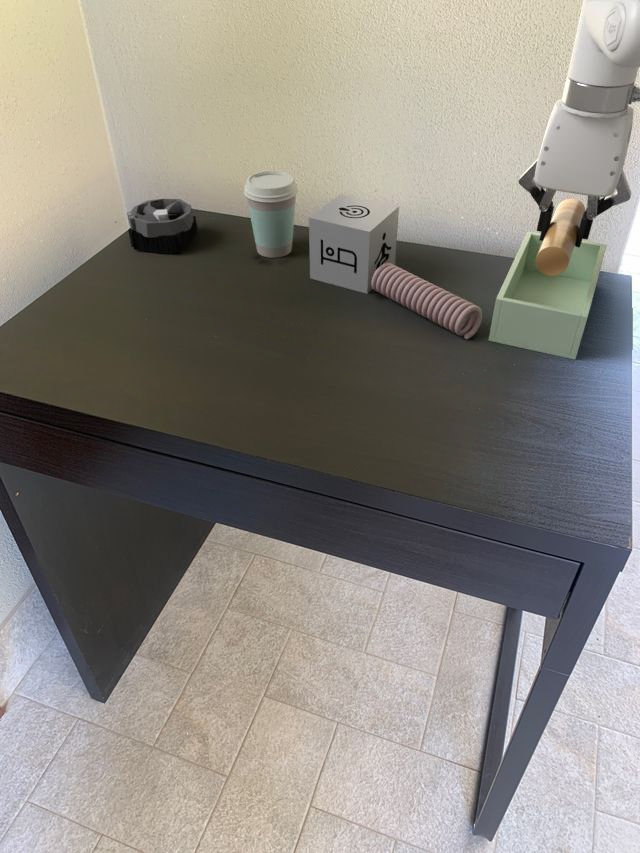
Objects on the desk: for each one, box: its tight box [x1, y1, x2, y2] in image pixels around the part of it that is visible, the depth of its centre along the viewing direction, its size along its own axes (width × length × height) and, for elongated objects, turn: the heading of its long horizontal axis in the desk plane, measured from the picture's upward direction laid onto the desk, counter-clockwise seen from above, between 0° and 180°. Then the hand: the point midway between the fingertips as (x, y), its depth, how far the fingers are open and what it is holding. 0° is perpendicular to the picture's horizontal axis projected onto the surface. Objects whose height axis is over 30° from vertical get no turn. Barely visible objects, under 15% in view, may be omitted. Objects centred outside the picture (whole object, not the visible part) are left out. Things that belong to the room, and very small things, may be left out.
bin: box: [488, 230, 608, 361], centre depth 97 cm, size 12×22×7 cm, turn 156°
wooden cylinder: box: [536, 198, 586, 276], centre depth 91 cm, size 16×4×4 cm
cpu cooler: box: [126, 198, 199, 254], centre depth 115 cm, size 10×6×10 cm
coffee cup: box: [243, 169, 299, 259], centre depth 111 cm, size 9×8×12 cm
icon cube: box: [308, 193, 400, 295], centre depth 105 cm, size 10×10×10 cm
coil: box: [371, 263, 483, 340], centre depth 98 cm, size 5×5×18 cm
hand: (561, 238), depth 92 cm, fingers closed on wooden cylinder, 4 cm apart
